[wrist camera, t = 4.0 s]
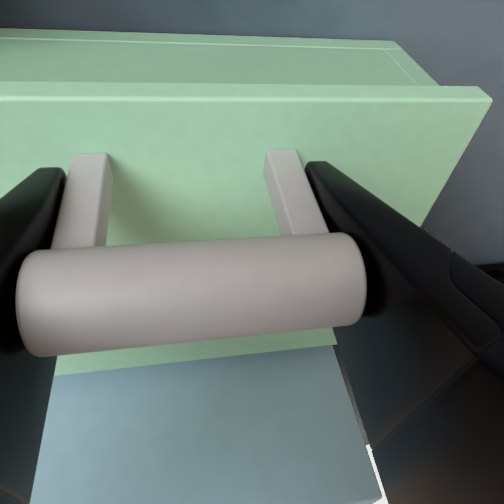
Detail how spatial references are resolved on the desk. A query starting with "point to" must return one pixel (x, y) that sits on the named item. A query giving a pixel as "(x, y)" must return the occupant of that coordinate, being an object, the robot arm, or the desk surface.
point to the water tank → (206, 434)
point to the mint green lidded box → (202, 59)
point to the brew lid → (211, 209)
